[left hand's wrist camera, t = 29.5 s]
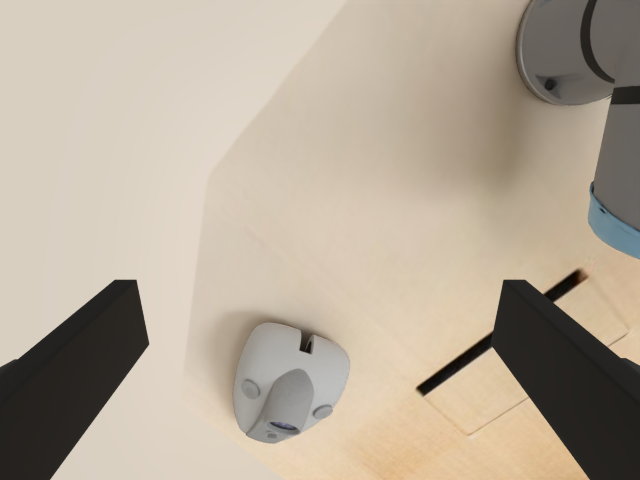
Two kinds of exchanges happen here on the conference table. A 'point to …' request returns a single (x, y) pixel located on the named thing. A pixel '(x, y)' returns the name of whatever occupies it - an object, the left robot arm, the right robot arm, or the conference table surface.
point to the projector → (286, 382)
